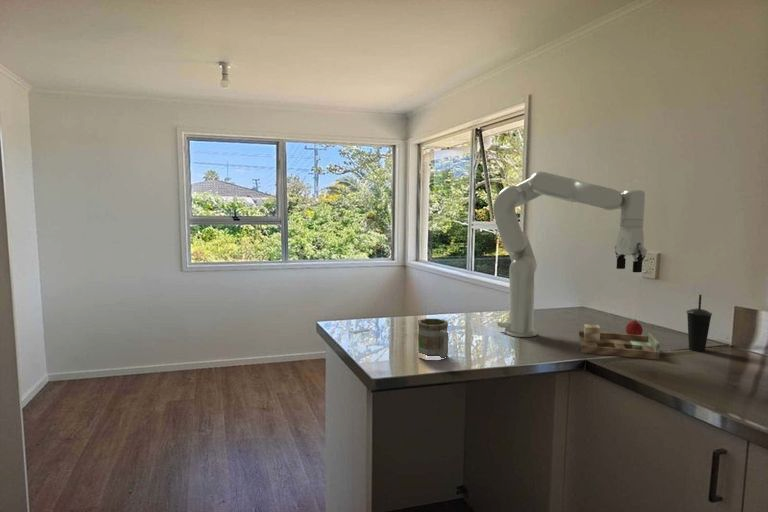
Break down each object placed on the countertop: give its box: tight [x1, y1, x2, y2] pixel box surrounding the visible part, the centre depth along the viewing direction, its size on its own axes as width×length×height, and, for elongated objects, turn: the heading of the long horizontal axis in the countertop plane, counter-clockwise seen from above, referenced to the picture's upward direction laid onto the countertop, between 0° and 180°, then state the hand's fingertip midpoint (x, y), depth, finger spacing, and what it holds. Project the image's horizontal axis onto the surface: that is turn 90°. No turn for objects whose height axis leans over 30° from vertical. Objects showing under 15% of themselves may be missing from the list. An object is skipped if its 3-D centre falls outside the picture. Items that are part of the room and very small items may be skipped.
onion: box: [625, 318, 644, 335], centre depth 182 cm, size 6×6×8 cm
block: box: [583, 323, 601, 342], centre depth 173 cm, size 5×5×5 cm
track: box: [578, 330, 661, 360], centre depth 167 cm, size 24×14×6 cm, turn 71°
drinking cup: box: [686, 294, 713, 353], centre depth 167 cm, size 8×8×20 cm
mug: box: [417, 318, 450, 358], centre depth 159 cm, size 16×11×12 cm
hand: (628, 270), depth 173 cm, fingers open, 9 cm apart
